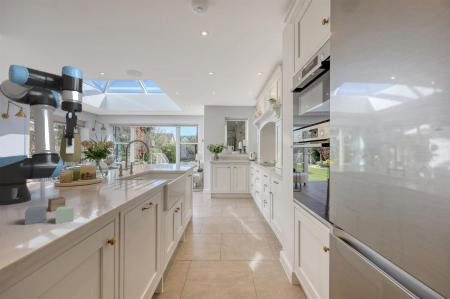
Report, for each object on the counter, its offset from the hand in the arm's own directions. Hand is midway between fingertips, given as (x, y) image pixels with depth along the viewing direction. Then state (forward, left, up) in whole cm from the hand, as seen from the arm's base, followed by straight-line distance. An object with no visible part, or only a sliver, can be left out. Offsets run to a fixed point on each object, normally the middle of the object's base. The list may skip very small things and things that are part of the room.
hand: (71, 153), depth 92 cm
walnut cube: (-3, -5, -25) cm, 26 cm away
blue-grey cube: (+13, -9, -25) cm, 30 cm away
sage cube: (+17, 0, -25) cm, 30 cm away
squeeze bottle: (0, 0, -4) cm, 4 cm away
